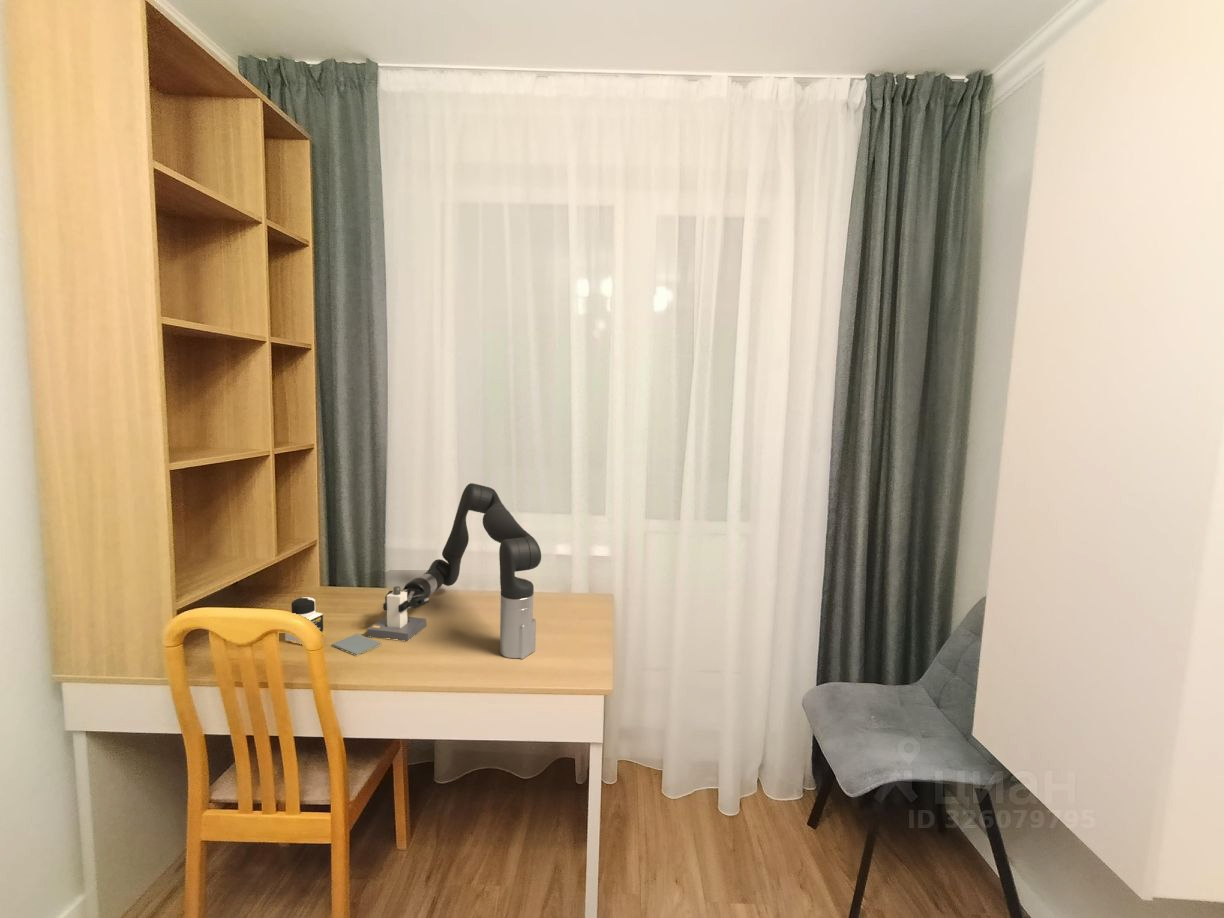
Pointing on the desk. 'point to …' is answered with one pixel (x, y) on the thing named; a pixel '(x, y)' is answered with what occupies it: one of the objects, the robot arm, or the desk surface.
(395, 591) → the plug
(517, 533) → the robot arm
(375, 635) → the socket block
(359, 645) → the mat
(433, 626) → the desk surface
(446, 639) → the desk surface
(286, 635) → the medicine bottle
